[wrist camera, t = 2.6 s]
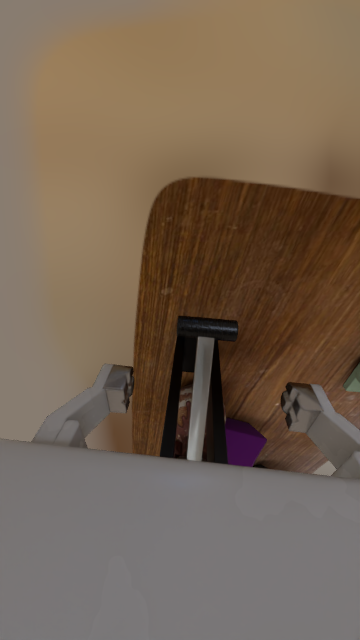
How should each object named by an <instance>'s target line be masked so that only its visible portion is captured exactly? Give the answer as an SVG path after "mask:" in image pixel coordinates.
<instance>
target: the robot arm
mask: <svg viewBox="0 0 360 640" xmlns="http://www.w3.org/2000/svg"><path fill="white" fill-rule="evenodd" d="M133 372H134V371H133V367H130V366H122V365H113V364H104V365H103V366H102V368H101V370H100V372H99V374H98V376H97V378H96V380H95V382H94V384H93V386H92V388H87V389H86V390H85V391H83V392H82V393H80V394H79V395H77V396H76V397H75V398H73V399H72V400H70V401H69V402H68V403H66V404H65V405H63V406H62V407H60V408H59V409H57V410H56V411H54V412H53V413H51V414H50V415H49V416H47V417H46V419H45V421H44V422H43V424H42V425H41V427H40V429H39V430H38V432H37V434H36V435H35V437H34V438H33V440H32V441H31V442H26V441H18V440H9V439H0V640H360V430H359V429H358V428H356V427H355V426H354V425H353V424H351V423H350V422H349V421H348V420H346V419H345V418H344V417H343V416H342V415H340V414H339V413H335V411H334V409H333V407H332V405H331V403H330V402H329V400H328V398H327V396H326V394H325V392H324V391H323V389H322V387H321V386H320V385H316V384H306V383H295V382H288V383H287V385H286V391H284V392H283V393H282V395H281V407H282V410H283V411H284V412H285V413H286V414H287V416H286V418H285V420H286V423H287V426H288V429H289V431H295V432H303V433H306V434H307V435H308V436H309V438H310V439H311V440H312V441H313V442H314V443H315V445H316V446H317V447H318V448H319V449H320V450H321V451H322V453H323V454H324V455H325V456H326V457H327V458H328V460H329V461H330V462H331V463H332V464H333V465H334V467H335V468H336V469H337V470H336V471H335V472H334V473H333V474H332V475H331V476H326V475H317V474H308V473H300V472H291V471H282V470H273V469H264V468H255V467H247V466H238V465H229V464H220V463H211V462H202V461H193V460H184V459H176V458H167V457H158V456H149V455H140V454H132V453H123V452H114V451H105V450H96V449H88V448H87V445H86V442H85V439H84V438H85V437H86V436H87V435H88V434H89V433H90V432H91V431H92V430H93V429H94V428H95V427H96V426H97V425H98V424H99V423H100V422H101V421H102V420H103V419H104V418H105V417H106V416H107V415H108V414H109V413H110V412H117V413H126V412H127V409H128V406H129V403H130V401H129V397H130V396H131V395H132V393H133V389H134V377H133V376H132V375H133Z"/></svg>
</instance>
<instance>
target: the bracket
mask: <svg viewBox="0 0 360 640" xmlns="http://www.w3.org/2000/svg"><path fill="white" fill-rule="evenodd" d="M196 347H197V338H189V337H178V336H177V341H176V348H175V354H174V361H173V368H172V375H171V382H170V389H169V396H168V403H167V410H166V416H165V423H164V430H163V437H162V444H161V451H160V457H167V458H174V451H175V441H176V430H177V420H178V410H179V399H180V389H181V379H182V371H184V372H194V368H195V358H196ZM206 429H207V462H211V463H220V464H228V456H227V444H226V432H225V420H224V408H223V396H222V384H221V372H220V360H219V348H218V340H214V348H213V358H212V367H211V377H210V386H209V396H208V405H207V415H206Z"/></svg>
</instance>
